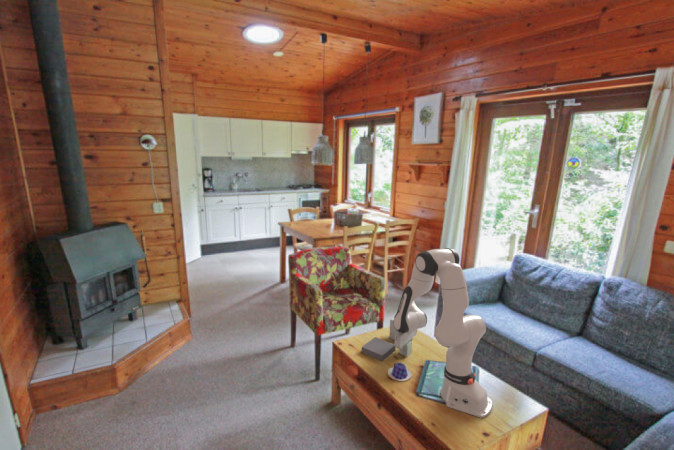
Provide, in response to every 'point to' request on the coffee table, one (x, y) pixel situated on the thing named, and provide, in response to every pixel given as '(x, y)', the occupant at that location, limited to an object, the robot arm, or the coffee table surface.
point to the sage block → (407, 349)
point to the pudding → (399, 372)
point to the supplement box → (392, 330)
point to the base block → (378, 349)
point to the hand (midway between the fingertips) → (405, 348)
